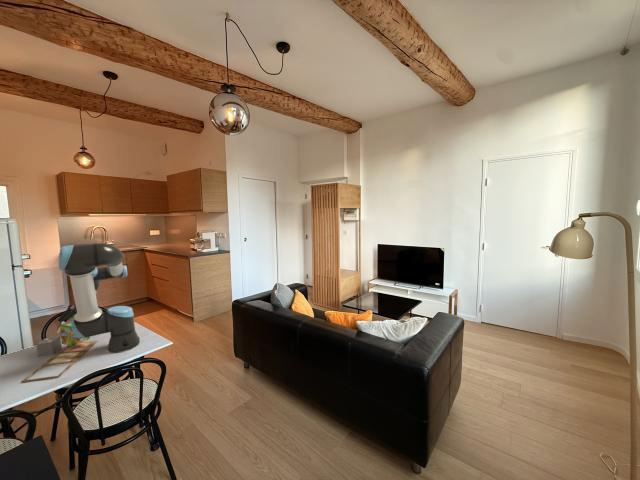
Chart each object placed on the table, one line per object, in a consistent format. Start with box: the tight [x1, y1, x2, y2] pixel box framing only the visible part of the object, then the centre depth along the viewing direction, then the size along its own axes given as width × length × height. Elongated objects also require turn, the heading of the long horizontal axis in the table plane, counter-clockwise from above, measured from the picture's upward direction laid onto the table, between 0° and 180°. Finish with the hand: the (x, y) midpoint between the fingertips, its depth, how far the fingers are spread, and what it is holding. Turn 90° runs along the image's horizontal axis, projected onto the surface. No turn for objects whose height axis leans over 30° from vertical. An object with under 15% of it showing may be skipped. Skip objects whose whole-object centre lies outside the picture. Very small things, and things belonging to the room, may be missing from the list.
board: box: [21, 340, 99, 384], centre depth 146 cm, size 35×14×1 cm, turn 14°
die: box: [35, 336, 63, 357], centre depth 153 cm, size 7×7×7 cm
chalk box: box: [60, 315, 91, 346], centre depth 156 cm, size 9×9×15 cm
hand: (71, 332), depth 153 cm, fingers closed on chalk box, 12 cm apart
